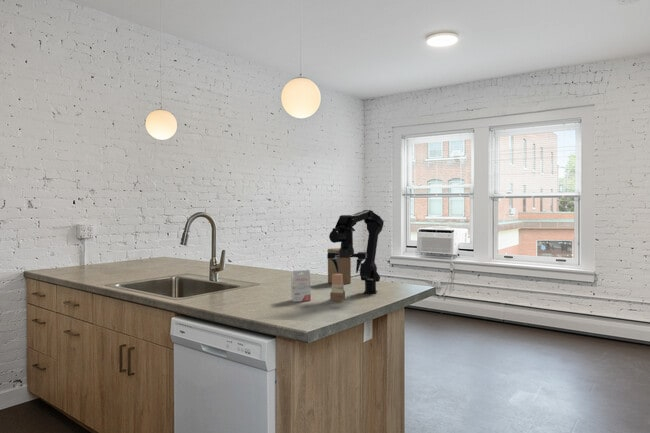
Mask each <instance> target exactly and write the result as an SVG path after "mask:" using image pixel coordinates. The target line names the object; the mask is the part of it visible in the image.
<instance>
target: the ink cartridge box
mask: <svg viewBox="0 0 650 433" xmlns="http://www.w3.org/2000/svg"><path fill="white" fill-rule="evenodd" d="M292 273H293V275H291V276H290V278H291V279H290V282H291V285H290V286H291V301H292V302H308V301H311V297H312V296H311V271H310V270H309V269H305V270H304V269H303V270H293V271H292Z"/></svg>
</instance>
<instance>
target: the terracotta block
mask: <svg viewBox="0 0 650 433" xmlns="http://www.w3.org/2000/svg"><path fill="white" fill-rule="evenodd" d="M342 283H343V274H333V275H332V283H331V285H332V284H336V285H341V284H342Z"/></svg>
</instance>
